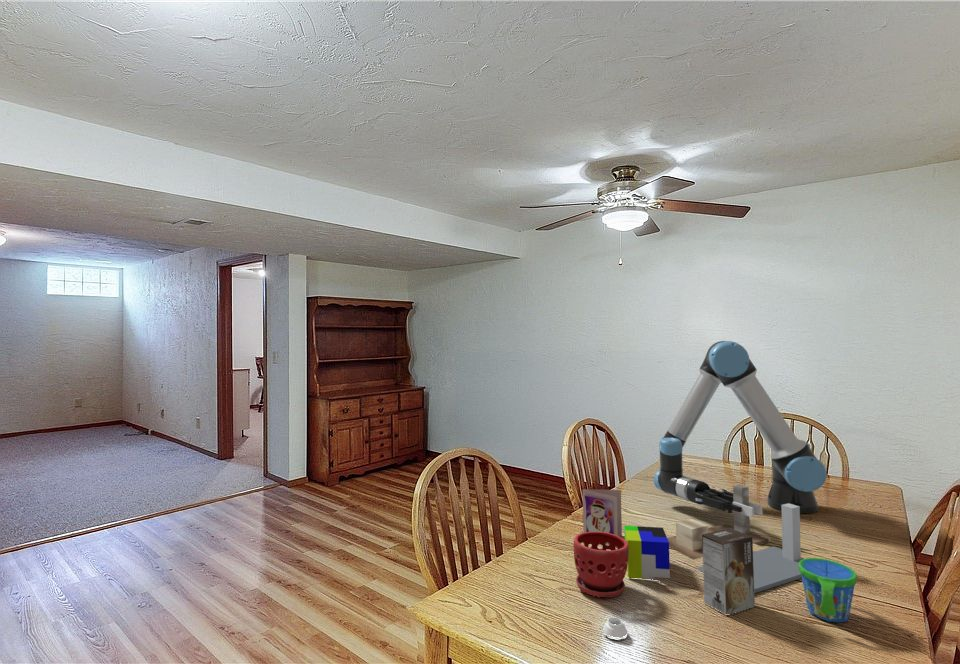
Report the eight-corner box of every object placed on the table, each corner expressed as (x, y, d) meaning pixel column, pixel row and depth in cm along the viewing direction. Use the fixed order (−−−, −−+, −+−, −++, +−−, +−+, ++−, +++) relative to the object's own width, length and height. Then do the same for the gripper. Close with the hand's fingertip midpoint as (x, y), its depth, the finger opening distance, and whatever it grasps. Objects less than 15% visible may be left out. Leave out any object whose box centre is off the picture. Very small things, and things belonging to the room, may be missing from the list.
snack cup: (855, 640, 101) (854, 589, 101) (793, 622, 108) (792, 574, 108) (860, 607, 113) (859, 562, 113) (805, 592, 120) (804, 549, 120)
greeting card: (582, 539, 153) (581, 490, 154) (594, 532, 159) (593, 484, 159) (616, 549, 146) (615, 497, 146) (628, 541, 151) (627, 491, 151)
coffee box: (731, 594, 120) (729, 526, 120) (755, 607, 114) (753, 536, 114) (702, 603, 116) (701, 533, 116) (726, 617, 110) (724, 543, 110)
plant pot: (620, 608, 115) (619, 555, 115) (566, 593, 122) (565, 543, 122) (635, 583, 126) (634, 535, 126) (585, 571, 133) (584, 526, 133)
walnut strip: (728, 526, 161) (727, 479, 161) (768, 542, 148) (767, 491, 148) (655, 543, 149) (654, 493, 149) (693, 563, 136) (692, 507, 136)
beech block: (691, 539, 149) (691, 518, 149) (708, 546, 144) (707, 525, 144) (676, 543, 147) (675, 522, 147) (692, 550, 141) (692, 529, 141)
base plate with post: (773, 549, 143) (772, 497, 143) (824, 570, 130) (823, 512, 131) (695, 571, 131) (694, 514, 131) (743, 597, 118) (742, 532, 118)
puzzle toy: (669, 582, 126) (669, 542, 126) (628, 579, 128) (627, 540, 128) (663, 564, 136) (662, 527, 136) (625, 562, 138) (624, 525, 138)
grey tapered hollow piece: (604, 626, 108) (601, 639, 103) (604, 612, 108) (601, 625, 103) (628, 631, 106) (626, 644, 101) (628, 617, 106) (626, 630, 101)
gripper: (711, 497, 174) (775, 519, 152) (676, 505, 167) (738, 529, 146) (710, 476, 174) (774, 494, 152) (675, 482, 167) (737, 503, 146)
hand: (756, 511), depth 149 cm, fingers closed on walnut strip, 3 cm apart
